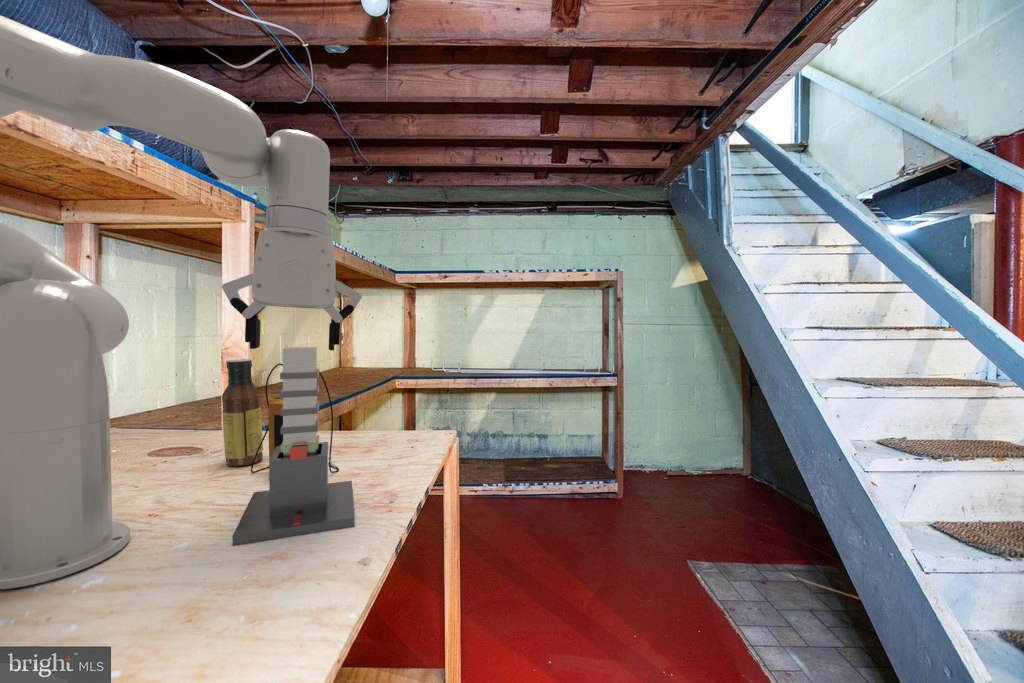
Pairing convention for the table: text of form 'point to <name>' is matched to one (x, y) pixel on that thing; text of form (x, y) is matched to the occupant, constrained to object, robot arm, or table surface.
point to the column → (299, 399)
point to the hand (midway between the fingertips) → (294, 349)
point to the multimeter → (277, 423)
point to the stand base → (297, 499)
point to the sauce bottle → (241, 415)
